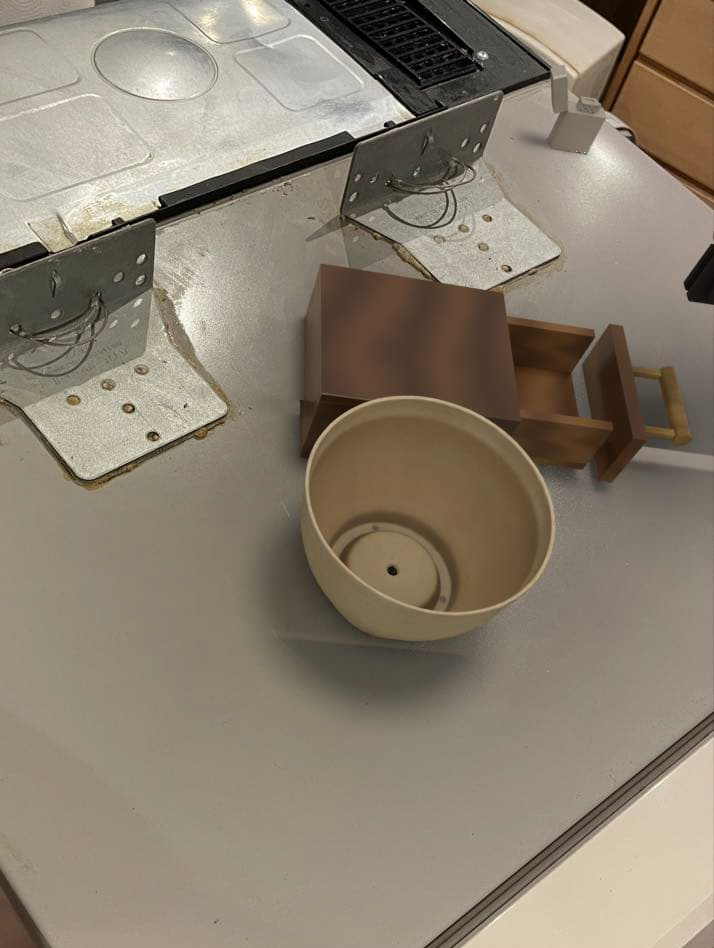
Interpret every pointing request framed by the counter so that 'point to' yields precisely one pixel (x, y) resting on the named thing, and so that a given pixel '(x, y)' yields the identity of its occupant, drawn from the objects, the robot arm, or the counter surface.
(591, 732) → the counter surface
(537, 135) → the counter surface
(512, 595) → the planter bowl
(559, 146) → the lighter
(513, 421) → the cabinet
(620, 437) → the drawer
